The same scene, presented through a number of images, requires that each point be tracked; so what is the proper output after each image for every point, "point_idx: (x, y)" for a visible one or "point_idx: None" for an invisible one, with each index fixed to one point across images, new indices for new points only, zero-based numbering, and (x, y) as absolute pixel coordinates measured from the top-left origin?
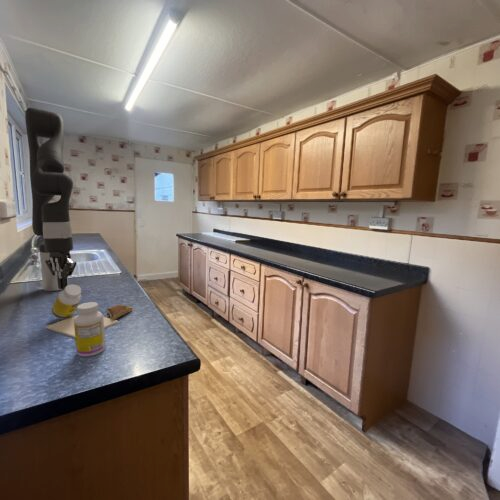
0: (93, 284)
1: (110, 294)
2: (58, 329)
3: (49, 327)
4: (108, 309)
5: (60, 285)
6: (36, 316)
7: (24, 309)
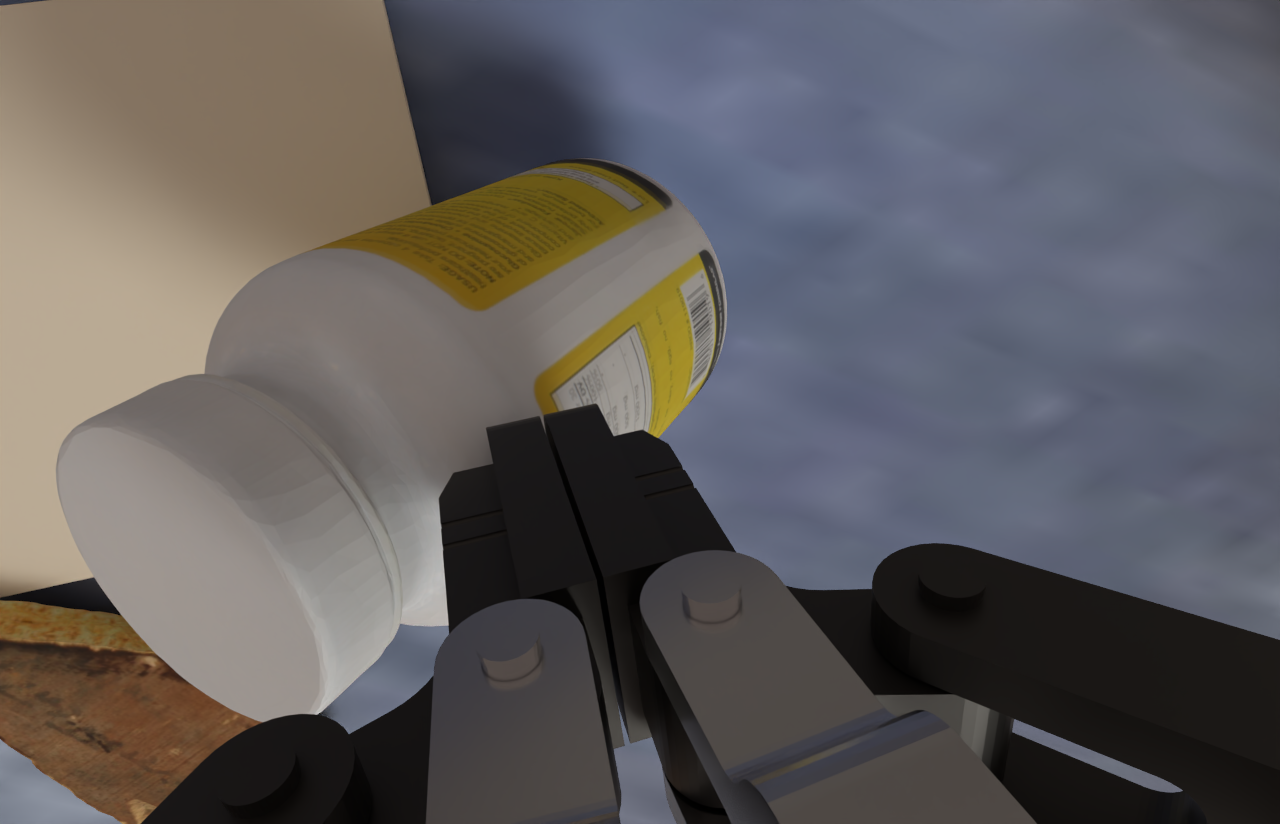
0: None
1: None
2: (102, 21)
3: None
4: None
5: (509, 467)
6: (902, 75)
7: (1232, 85)
